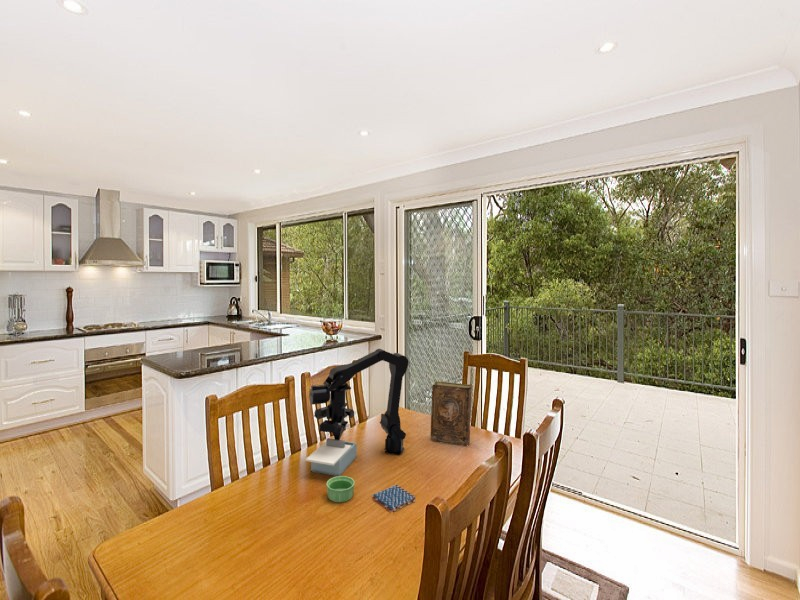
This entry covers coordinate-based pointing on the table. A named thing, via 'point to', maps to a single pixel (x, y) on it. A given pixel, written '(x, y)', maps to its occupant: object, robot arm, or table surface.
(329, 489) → the ramekin
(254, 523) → the table surface
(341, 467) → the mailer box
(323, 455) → the lid
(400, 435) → the robot arm
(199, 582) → the table surface
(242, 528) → the table surface
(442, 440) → the book
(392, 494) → the woven mat
